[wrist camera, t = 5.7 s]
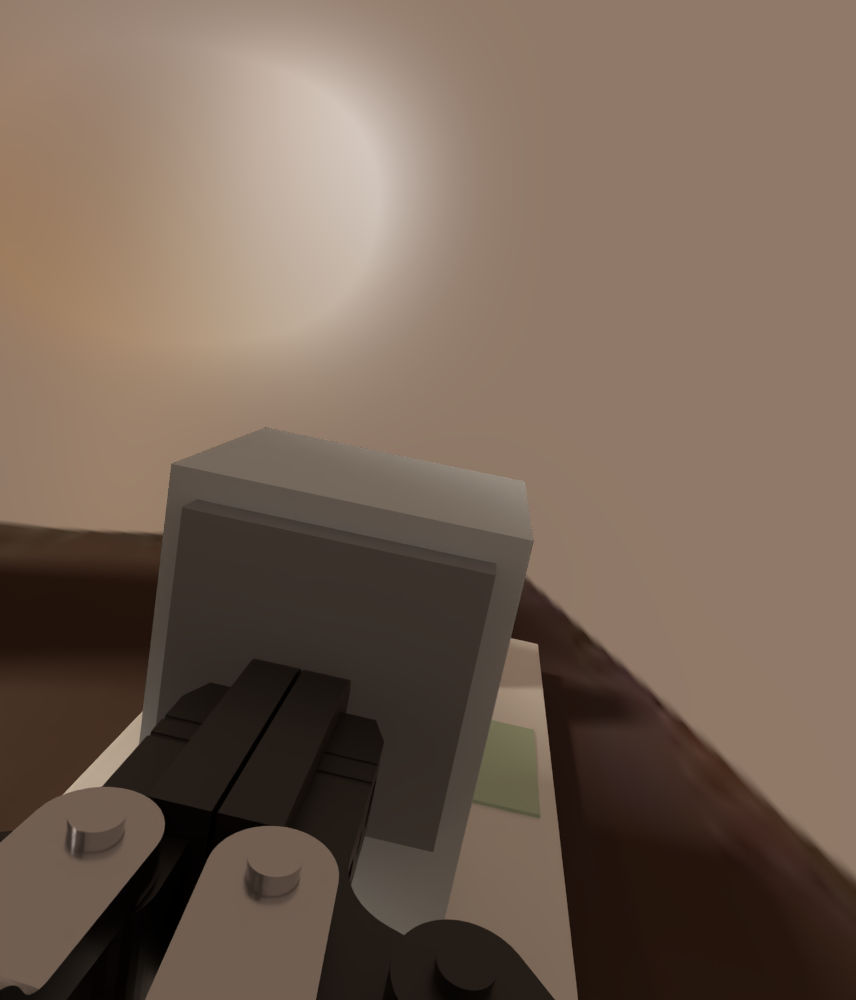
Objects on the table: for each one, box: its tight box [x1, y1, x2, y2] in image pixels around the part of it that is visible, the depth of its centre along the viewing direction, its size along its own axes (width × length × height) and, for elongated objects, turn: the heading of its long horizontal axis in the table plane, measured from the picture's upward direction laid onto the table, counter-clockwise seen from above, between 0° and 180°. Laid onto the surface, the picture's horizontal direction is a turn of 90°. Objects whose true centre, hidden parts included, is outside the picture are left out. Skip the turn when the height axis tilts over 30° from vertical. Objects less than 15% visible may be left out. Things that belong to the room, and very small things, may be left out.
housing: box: [63, 638, 578, 1000], centre depth 22 cm, size 22×12×2 cm, turn 174°
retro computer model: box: [139, 427, 534, 935], centre depth 15 cm, size 6×6×9 cm
